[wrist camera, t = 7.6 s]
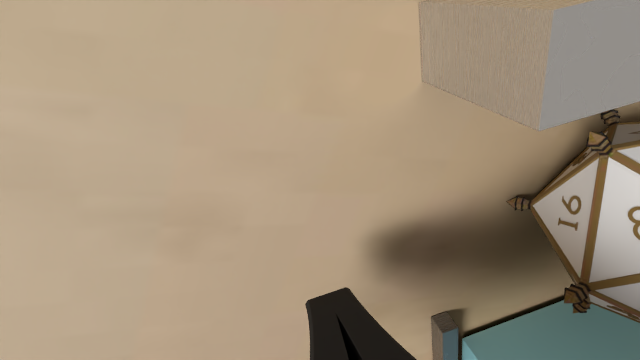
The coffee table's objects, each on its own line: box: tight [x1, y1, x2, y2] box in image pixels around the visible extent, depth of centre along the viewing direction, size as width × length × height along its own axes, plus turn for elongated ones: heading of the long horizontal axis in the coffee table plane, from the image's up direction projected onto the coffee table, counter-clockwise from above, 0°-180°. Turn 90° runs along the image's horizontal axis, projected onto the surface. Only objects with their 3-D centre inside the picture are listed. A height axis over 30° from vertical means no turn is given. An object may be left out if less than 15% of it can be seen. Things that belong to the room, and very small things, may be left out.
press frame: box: [419, 0, 640, 360], centre depth 15 cm, size 23×12×5 cm, turn 10°
